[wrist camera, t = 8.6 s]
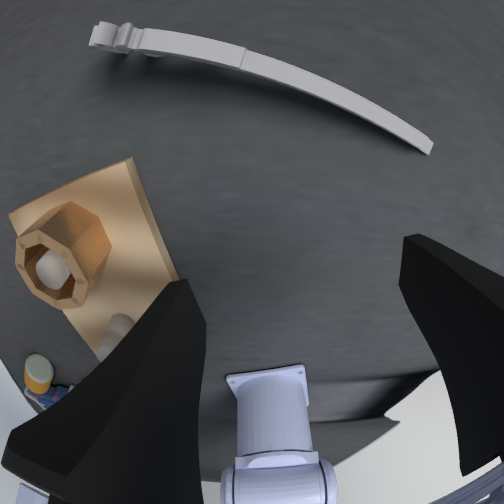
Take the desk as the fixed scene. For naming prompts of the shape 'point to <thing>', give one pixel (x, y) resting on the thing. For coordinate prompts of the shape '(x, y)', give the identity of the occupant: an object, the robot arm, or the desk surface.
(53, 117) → the desk surface
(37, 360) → the toy blaster gun
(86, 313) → the wooden peg board
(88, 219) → the ring
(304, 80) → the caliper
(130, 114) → the desk surface
